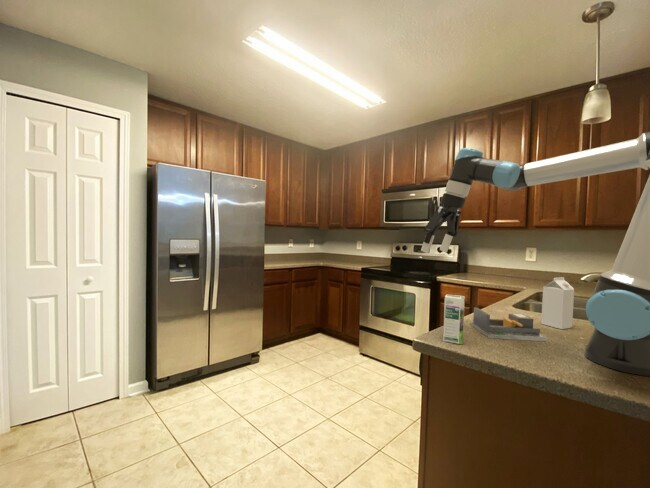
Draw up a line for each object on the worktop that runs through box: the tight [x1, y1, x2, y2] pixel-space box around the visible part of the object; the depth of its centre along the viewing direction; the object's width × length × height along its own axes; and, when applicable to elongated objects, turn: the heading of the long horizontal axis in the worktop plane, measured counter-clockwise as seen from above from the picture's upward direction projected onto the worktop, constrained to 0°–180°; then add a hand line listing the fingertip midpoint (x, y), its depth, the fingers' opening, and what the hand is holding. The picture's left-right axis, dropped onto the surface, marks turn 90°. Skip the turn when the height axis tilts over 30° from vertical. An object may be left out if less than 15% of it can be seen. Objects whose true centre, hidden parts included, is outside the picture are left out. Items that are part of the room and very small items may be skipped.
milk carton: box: [541, 276, 575, 330], centre depth 113 cm, size 7×7×19 cm
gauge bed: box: [469, 307, 547, 342], centre depth 104 cm, size 15×18×7 cm
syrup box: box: [442, 293, 466, 345], centre depth 94 cm, size 6×6×14 cm
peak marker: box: [503, 317, 523, 327], centre depth 101 cm, size 10×2×3 cm, turn 175°
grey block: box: [507, 313, 534, 328], centre depth 103 cm, size 6×5×5 cm
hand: (434, 251), depth 107 cm, fingers open, 13 cm apart
